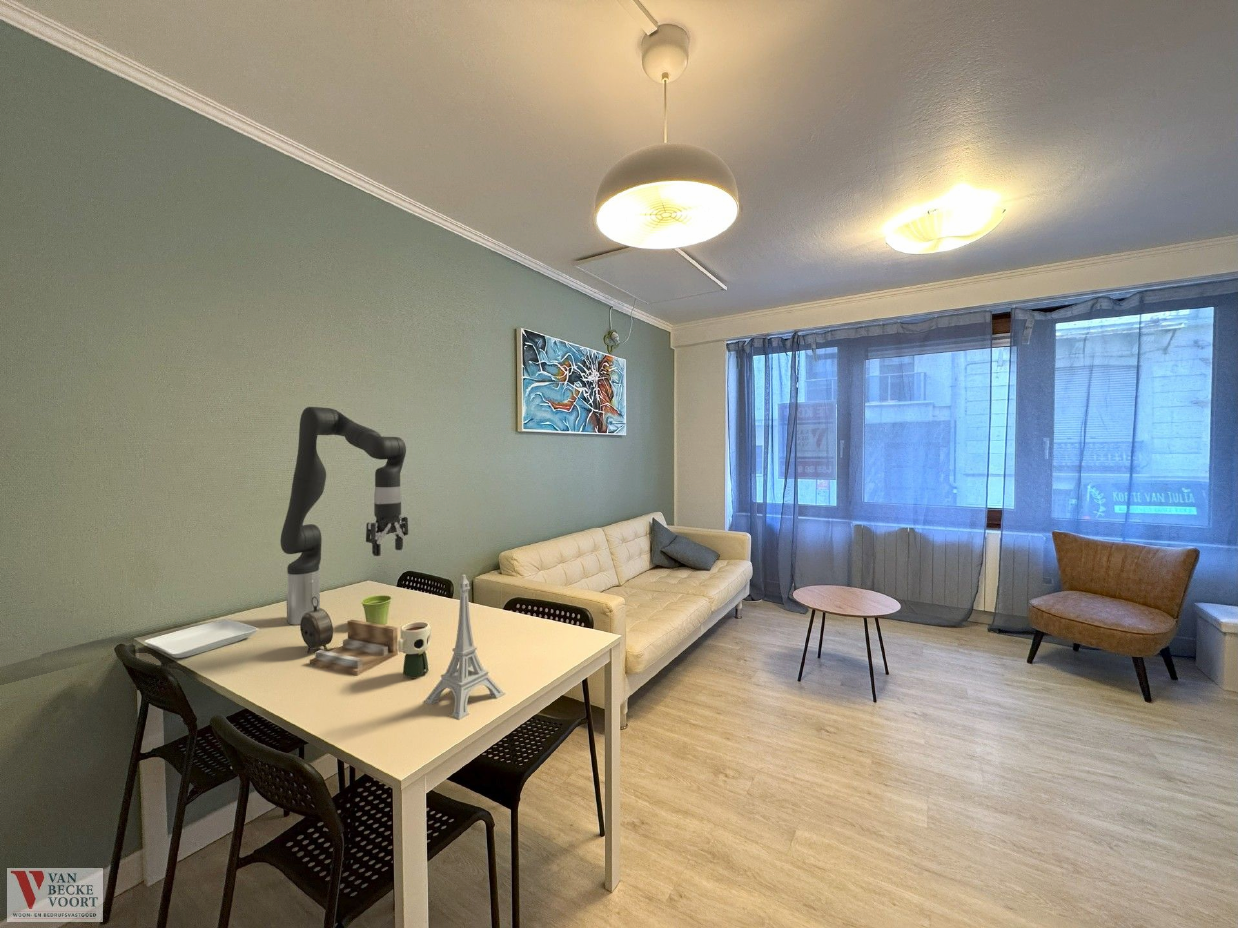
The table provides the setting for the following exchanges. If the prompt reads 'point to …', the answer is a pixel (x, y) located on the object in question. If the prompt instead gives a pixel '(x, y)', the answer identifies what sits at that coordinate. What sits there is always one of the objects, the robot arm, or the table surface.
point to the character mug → (415, 647)
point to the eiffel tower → (463, 663)
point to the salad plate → (201, 638)
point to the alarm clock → (316, 628)
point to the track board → (360, 648)
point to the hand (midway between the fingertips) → (388, 552)
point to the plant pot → (376, 609)
